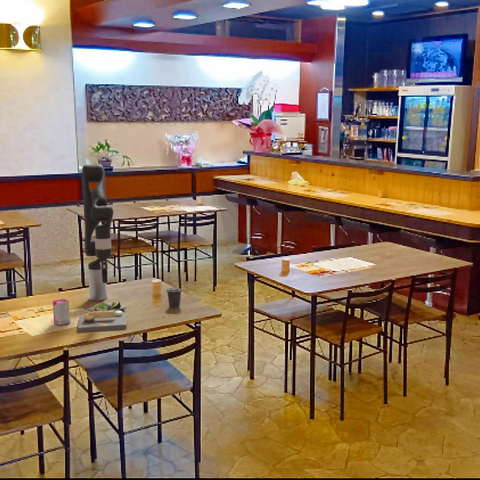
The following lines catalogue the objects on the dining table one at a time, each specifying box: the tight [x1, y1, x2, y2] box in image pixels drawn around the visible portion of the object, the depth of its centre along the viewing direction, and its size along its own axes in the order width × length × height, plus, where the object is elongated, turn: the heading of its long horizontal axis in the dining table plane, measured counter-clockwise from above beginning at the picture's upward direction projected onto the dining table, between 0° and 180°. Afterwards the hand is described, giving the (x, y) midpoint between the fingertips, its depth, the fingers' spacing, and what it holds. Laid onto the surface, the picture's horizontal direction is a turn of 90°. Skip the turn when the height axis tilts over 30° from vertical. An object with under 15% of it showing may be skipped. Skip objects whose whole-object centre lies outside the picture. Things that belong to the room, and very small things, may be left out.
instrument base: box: [77, 310, 127, 333], centre depth 295 cm, size 18×22×4 cm
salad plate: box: [86, 300, 127, 313], centre depth 314 cm, size 19×18×5 cm
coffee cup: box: [166, 287, 183, 309], centre depth 321 cm, size 8×8×10 cm
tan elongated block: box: [83, 310, 115, 322], centre depth 294 cm, size 5×14×4 cm, turn 103°
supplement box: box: [52, 298, 71, 327], centre depth 295 cm, size 6×6×12 cm
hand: (104, 281), depth 299 cm, fingers open, 3 cm apart
